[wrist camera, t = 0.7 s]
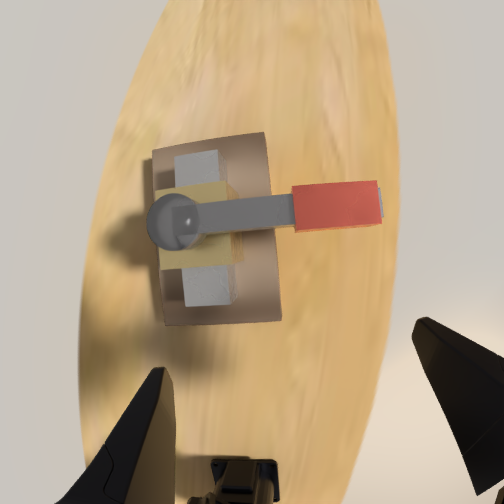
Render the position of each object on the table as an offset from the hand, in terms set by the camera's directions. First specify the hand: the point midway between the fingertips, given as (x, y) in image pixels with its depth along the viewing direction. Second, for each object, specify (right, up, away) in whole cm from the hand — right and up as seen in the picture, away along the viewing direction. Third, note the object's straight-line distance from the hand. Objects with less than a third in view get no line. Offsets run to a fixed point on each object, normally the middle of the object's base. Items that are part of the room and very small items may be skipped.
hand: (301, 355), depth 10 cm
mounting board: (-4, +5, +15) cm, 16 cm away
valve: (-5, +5, +13) cm, 14 cm away
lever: (-1, +5, +6) cm, 8 cm away
